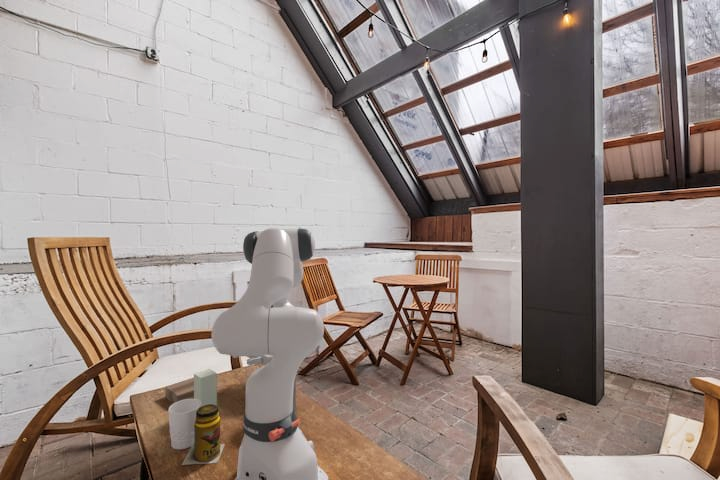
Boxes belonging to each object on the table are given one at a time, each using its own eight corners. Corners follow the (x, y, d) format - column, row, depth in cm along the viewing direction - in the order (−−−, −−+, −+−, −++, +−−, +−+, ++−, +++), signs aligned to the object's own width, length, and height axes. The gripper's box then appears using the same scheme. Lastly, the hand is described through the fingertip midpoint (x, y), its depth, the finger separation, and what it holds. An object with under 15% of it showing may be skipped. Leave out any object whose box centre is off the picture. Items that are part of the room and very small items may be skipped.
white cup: (163, 444, 91) (162, 407, 91) (191, 430, 98) (191, 395, 98) (178, 455, 87) (178, 416, 87) (207, 439, 93) (207, 403, 93)
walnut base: (208, 396, 118) (208, 385, 118) (177, 407, 111) (177, 395, 111) (194, 388, 125) (194, 377, 125) (165, 398, 117) (165, 386, 117)
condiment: (217, 463, 84) (217, 415, 84) (181, 465, 83) (180, 417, 83) (225, 444, 92) (225, 400, 91) (191, 447, 90) (191, 402, 90)
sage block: (216, 410, 109) (216, 373, 109) (201, 416, 105) (200, 378, 105) (209, 404, 112) (209, 368, 112) (194, 410, 108) (193, 373, 108)
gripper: (258, 334, 135) (225, 342, 124) (291, 346, 121) (256, 357, 111) (258, 349, 135) (225, 359, 125) (290, 364, 122) (256, 376, 111)
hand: (240, 358), depth 118 cm, fingers open, 8 cm apart
